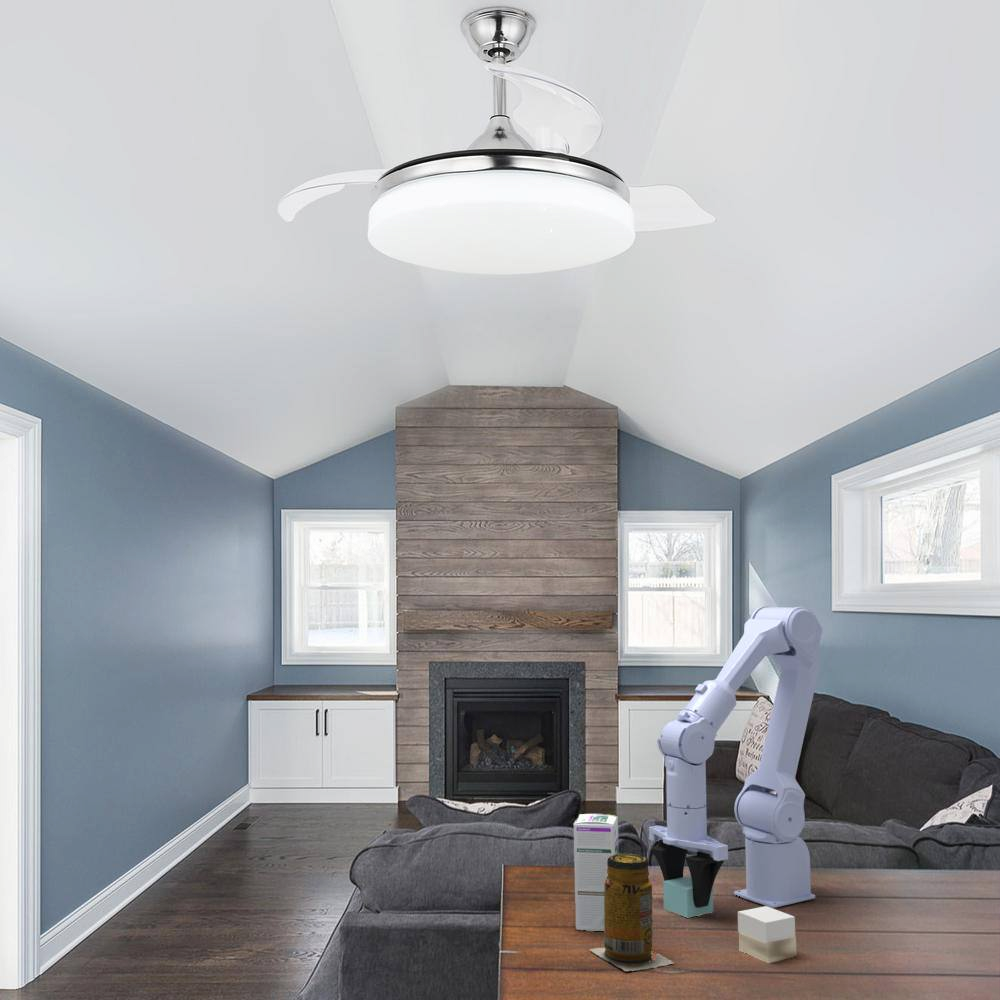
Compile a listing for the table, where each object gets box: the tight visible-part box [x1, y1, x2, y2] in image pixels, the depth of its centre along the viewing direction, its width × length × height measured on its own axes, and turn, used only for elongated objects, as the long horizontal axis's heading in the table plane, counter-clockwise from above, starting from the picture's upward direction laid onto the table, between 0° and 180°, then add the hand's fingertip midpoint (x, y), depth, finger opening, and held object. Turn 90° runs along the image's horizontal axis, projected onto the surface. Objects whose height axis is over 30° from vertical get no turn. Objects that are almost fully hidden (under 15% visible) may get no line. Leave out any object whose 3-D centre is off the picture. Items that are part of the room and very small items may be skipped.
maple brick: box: [738, 932, 798, 964], centre depth 125 cm, size 5×5×2 cm
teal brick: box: [662, 875, 714, 919], centre depth 142 cm, size 5×5×4 cm
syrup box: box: [573, 813, 620, 932], centre depth 136 cm, size 6×6×14 cm
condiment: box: [589, 853, 675, 972], centre depth 124 cm, size 7×8×12 cm
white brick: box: [737, 905, 796, 943], centre depth 125 cm, size 5×5×2 cm
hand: (688, 901), depth 142 cm, fingers closed on teal brick, 5 cm apart
